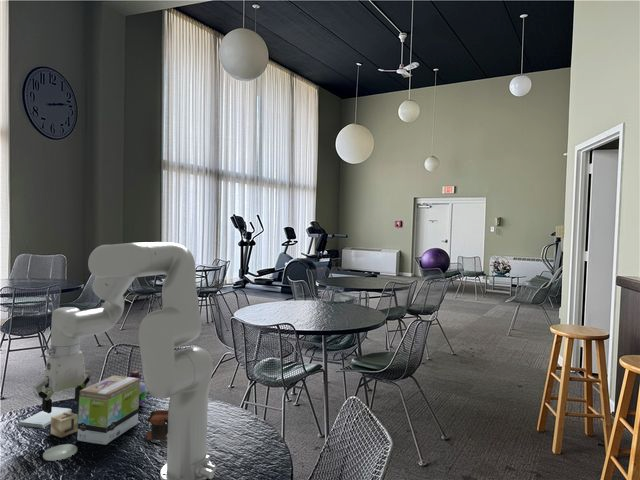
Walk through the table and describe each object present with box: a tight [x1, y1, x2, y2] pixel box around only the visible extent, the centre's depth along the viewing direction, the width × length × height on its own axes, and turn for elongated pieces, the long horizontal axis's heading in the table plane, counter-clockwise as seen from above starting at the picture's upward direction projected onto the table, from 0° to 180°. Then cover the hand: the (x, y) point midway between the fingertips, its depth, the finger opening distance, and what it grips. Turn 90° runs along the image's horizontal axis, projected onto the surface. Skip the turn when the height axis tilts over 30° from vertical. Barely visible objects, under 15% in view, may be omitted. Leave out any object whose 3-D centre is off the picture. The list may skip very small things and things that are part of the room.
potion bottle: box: [127, 370, 148, 407], centre depth 153 cm, size 9×9×12 cm
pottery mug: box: [145, 409, 168, 441], centre depth 133 cm, size 12×10×8 cm
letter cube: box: [50, 411, 79, 439], centre depth 132 cm, size 5×5×5 cm
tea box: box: [76, 375, 141, 446], centre depth 133 cm, size 15×10×15 cm, turn 168°
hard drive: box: [18, 406, 73, 429], centre depth 141 cm, size 2×8×12 cm
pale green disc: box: [42, 443, 78, 462], centre depth 120 cm, size 8×8×1 cm
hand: (63, 406), depth 132 cm, fingers open, 9 cm apart
